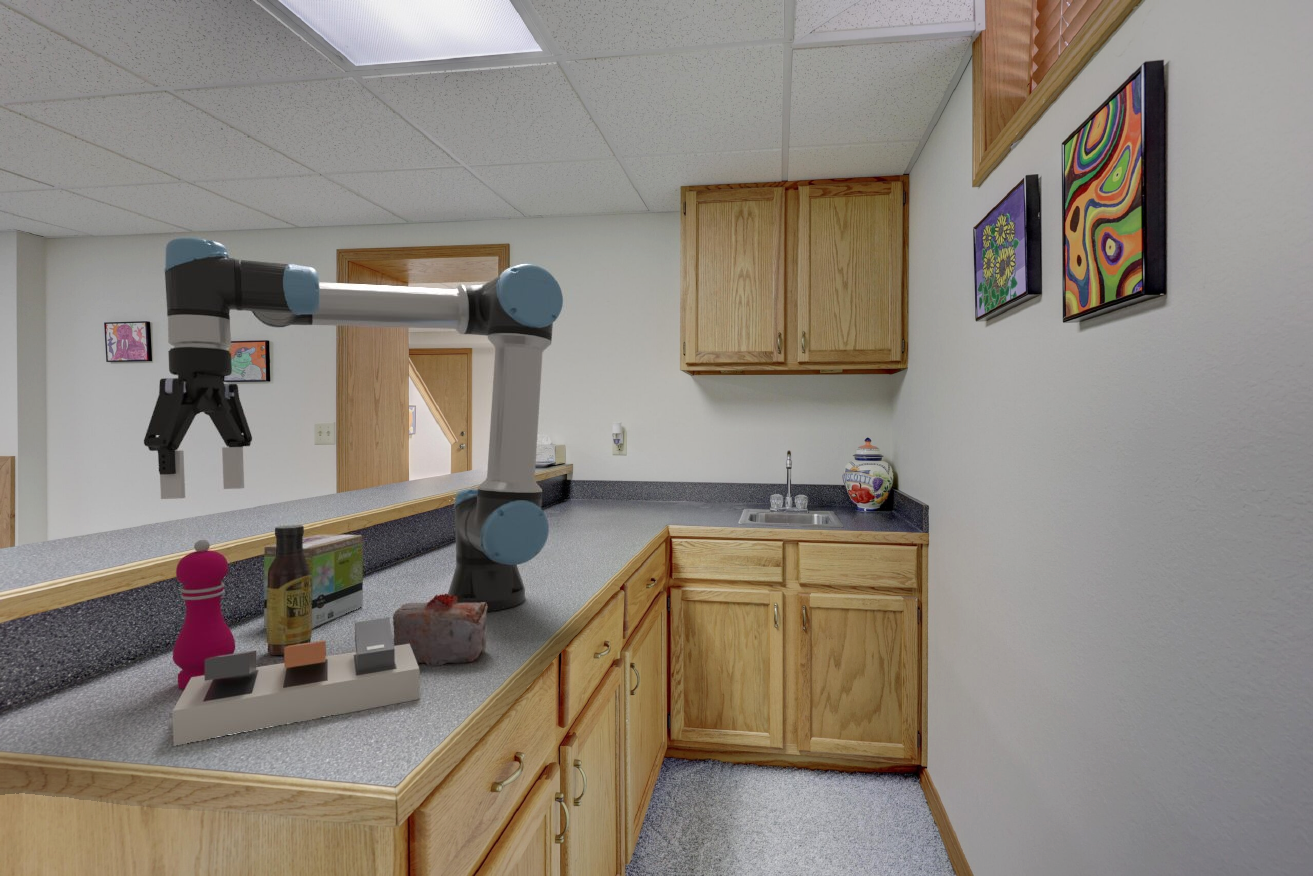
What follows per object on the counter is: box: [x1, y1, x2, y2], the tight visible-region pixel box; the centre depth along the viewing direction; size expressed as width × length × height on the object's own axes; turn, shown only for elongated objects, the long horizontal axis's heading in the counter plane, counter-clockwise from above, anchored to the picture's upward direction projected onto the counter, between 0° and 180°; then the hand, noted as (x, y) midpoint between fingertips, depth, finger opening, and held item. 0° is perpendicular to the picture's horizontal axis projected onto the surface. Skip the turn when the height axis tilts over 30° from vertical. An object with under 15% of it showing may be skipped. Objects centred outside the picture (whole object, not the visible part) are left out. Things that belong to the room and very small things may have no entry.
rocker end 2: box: [354, 617, 395, 671], centre depth 86 cm, size 4×8×2 cm, turn 27°
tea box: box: [263, 533, 364, 630], centre depth 121 cm, size 15×10×15 cm, turn 171°
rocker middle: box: [283, 640, 327, 668], centre depth 83 cm, size 4×8×2 cm, turn 27°
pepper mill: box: [172, 539, 236, 691], centre depth 91 cm, size 7×7×20 cm
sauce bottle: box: [266, 524, 313, 656], centre depth 103 cm, size 7×6×20 cm
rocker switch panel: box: [172, 644, 421, 747], centre depth 83 cm, size 26×11×4 cm, turn 117°
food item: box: [392, 593, 488, 667], centre depth 99 cm, size 14×8×10 cm, turn 93°
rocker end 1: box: [205, 650, 257, 681], centre depth 79 cm, size 4×8×2 cm, turn 27°
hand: (205, 493), depth 95 cm, fingers open, 13 cm apart
